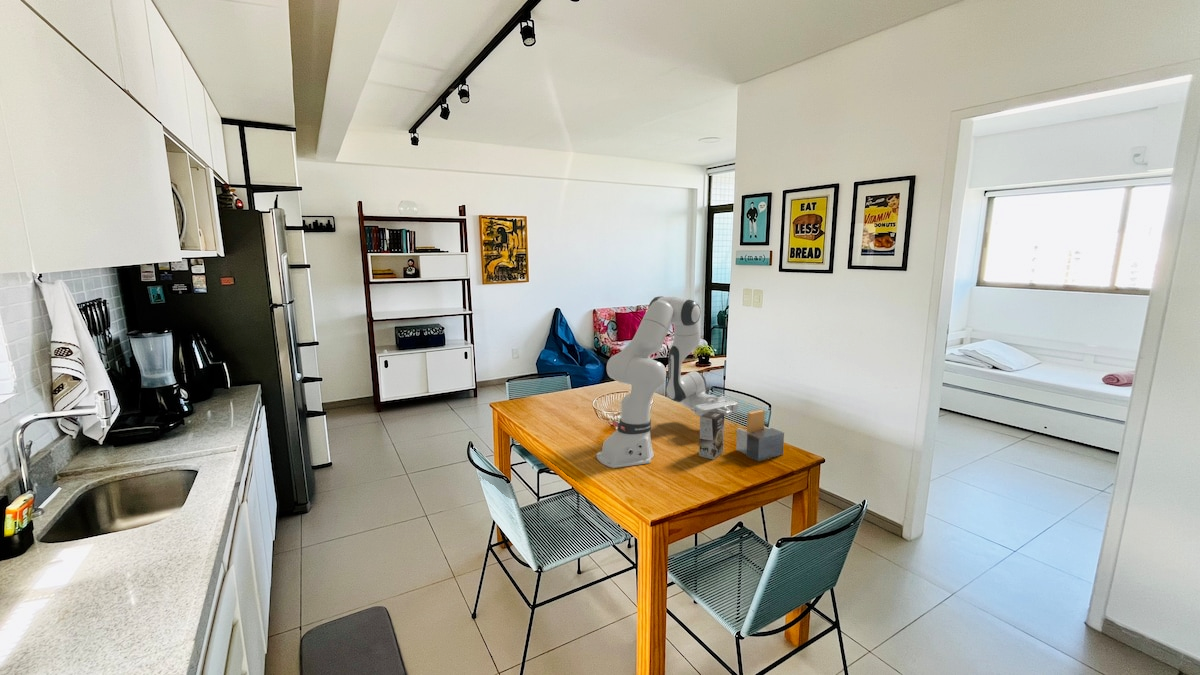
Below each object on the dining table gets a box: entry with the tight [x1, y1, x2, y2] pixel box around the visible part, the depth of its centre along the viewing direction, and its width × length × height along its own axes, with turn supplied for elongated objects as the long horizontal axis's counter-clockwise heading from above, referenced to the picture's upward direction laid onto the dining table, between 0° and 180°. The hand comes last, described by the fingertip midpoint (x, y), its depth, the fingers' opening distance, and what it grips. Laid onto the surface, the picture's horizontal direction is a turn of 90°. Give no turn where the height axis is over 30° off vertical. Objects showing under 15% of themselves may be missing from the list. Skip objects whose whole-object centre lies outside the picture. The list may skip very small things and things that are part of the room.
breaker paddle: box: [746, 409, 766, 433], centre depth 192 cm, size 7×2×10 cm, turn 118°
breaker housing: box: [735, 425, 785, 463], centre depth 191 cm, size 13×12×9 cm
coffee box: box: [698, 411, 725, 460], centre depth 189 cm, size 9×6×16 cm
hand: (729, 413), depth 204 cm, fingers closed
